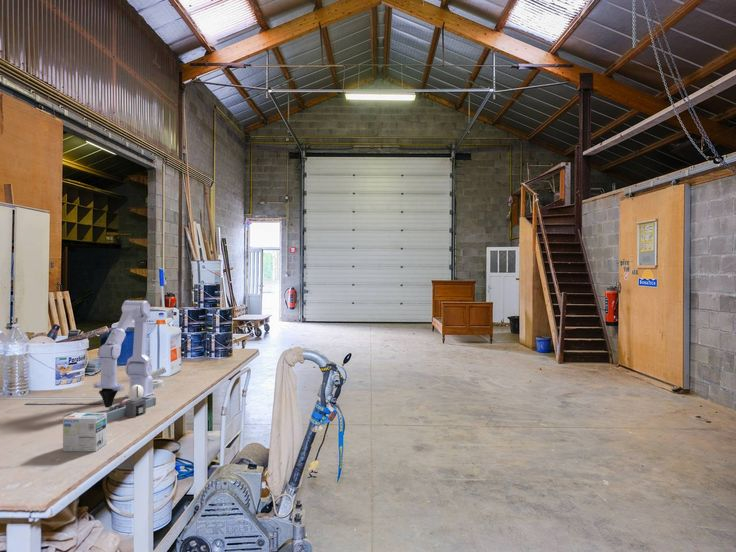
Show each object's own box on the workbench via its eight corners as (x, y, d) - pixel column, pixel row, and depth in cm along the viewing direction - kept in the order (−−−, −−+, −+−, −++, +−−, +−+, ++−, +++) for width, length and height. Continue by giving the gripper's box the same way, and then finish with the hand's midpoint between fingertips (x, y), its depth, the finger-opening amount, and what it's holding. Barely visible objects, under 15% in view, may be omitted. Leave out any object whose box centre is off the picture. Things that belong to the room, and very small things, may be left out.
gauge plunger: (127, 409, 186) (127, 404, 186) (142, 412, 183) (142, 407, 183) (123, 411, 184) (123, 406, 184) (138, 413, 181) (138, 408, 181)
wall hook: (168, 367, 226) (146, 370, 220) (168, 387, 226) (146, 390, 220) (164, 364, 233) (142, 367, 227) (163, 383, 233) (142, 386, 227)
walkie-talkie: (126, 403, 199) (96, 418, 179) (126, 393, 199) (96, 407, 179) (145, 404, 198) (118, 419, 178) (146, 394, 198) (118, 408, 178)
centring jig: (131, 401, 201) (132, 374, 201) (165, 406, 195) (165, 378, 195) (73, 419, 176) (74, 388, 176) (110, 425, 170) (110, 393, 170)
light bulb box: (107, 444, 152) (107, 411, 152) (96, 452, 146) (96, 418, 145) (74, 444, 152) (74, 411, 152) (61, 452, 145) (62, 418, 145)
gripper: (86, 374, 186) (86, 407, 187) (113, 377, 182) (113, 411, 182) (102, 370, 193) (101, 402, 193) (128, 373, 188) (128, 406, 188)
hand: (108, 406), depth 188 cm, fingers closed
